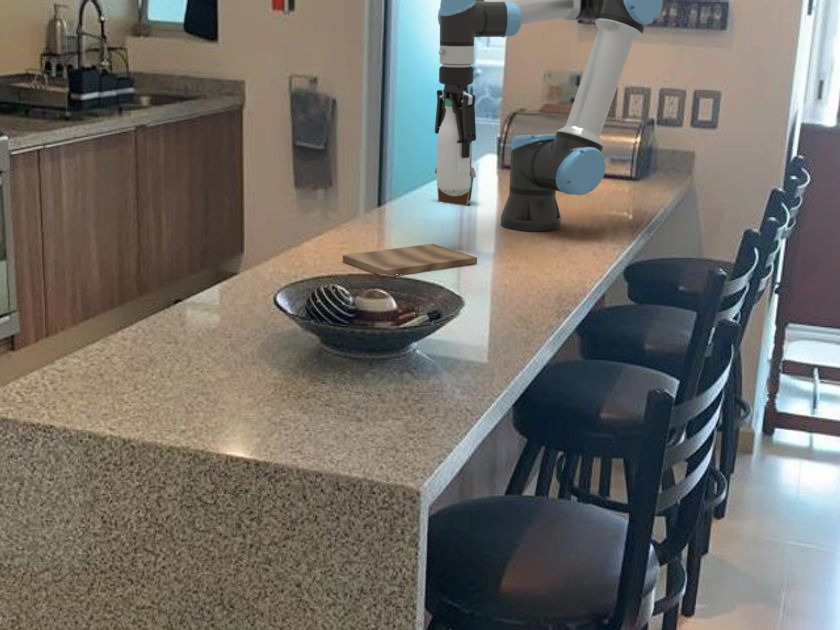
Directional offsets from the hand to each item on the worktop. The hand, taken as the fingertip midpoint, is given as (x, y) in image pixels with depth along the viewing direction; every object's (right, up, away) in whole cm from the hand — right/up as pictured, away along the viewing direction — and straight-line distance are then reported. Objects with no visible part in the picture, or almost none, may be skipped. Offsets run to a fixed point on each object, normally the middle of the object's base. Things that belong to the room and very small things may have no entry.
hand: (454, 169), depth 260 cm
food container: (+3, -2, +62) cm, 63 cm away
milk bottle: (0, -4, +1) cm, 4 cm away
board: (-10, -21, -10) cm, 26 cm away
